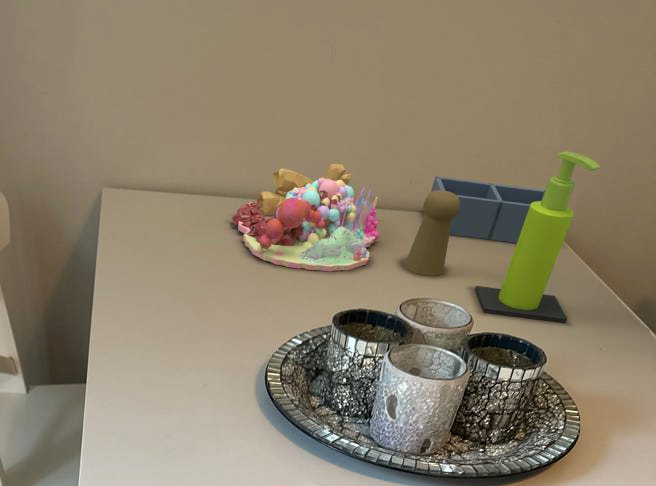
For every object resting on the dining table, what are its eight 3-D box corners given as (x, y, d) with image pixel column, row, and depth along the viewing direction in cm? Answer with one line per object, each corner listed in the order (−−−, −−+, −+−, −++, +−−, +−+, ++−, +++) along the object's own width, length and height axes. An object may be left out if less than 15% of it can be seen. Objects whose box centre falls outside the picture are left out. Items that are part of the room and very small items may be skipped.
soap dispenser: (529, 316, 130) (586, 166, 116) (490, 297, 134) (541, 149, 120) (552, 307, 133) (610, 160, 119) (513, 289, 137) (565, 144, 123)
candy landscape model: (214, 208, 151) (222, 148, 144) (344, 209, 157) (357, 150, 150) (264, 272, 134) (275, 207, 127) (407, 270, 140) (425, 207, 133)
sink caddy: (534, 226, 159) (547, 190, 155) (546, 246, 153) (559, 209, 149) (425, 212, 159) (435, 176, 155) (431, 232, 153) (442, 194, 148)
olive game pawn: (421, 256, 144) (441, 183, 137) (451, 271, 141) (474, 196, 133) (396, 263, 141) (416, 189, 133) (426, 278, 138) (448, 203, 130)
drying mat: (553, 299, 137) (554, 295, 137) (565, 323, 131) (567, 319, 131) (474, 289, 137) (475, 285, 137) (483, 312, 131) (484, 308, 131)
